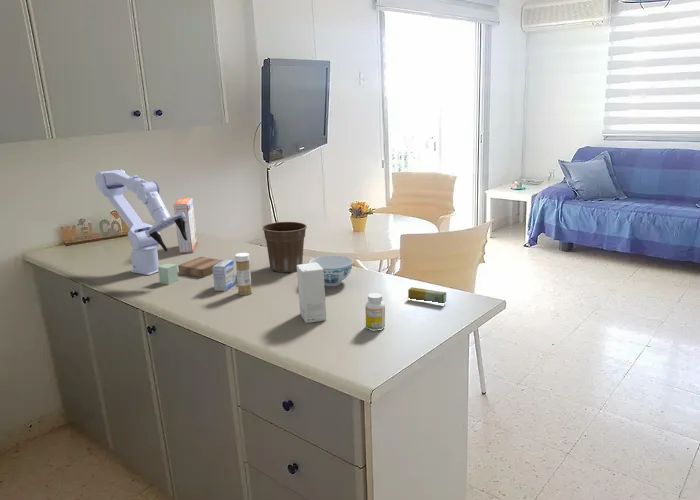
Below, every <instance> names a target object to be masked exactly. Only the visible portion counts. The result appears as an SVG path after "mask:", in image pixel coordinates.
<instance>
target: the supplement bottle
mask: <svg viewBox="0 0 700 500" xmlns="http://www.w3.org/2000/svg"><path fill="white" fill-rule="evenodd" d="M367 300H368V301H367V302H366V303H365V328H366V329H367V328H368V329H371V330H378V329H382V328H384V327H385V324H386V321H385V320H386V316H385V315H386V304H385V302H384V301H383V300H384V299H383V295H382V294H381V293H378V292H371V293H369V294H368V295H367ZM368 329H367V330H368ZM384 329H385V328H384Z"/></svg>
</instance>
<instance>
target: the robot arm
mask: <svg viewBox="0 0 700 500" xmlns="http://www.w3.org/2000/svg"><path fill="white" fill-rule="evenodd" d="M95 183H96V187H97V188H98V190H99V191H100V192H101V194H102V196H103V197H106V198H107V200H108V202H109V203H110V204H111V206H112V207H113V208H114V209H115V211H116V212H117V214H118V215H119V216H120V218H121V219H122V221H123V222H124V223H125V225H126V226H127V227H128V229H129V230H128V233H127V239H128V241H129V244H130V246H131V247H132V248H133V249H132V250H131V253H130V258H131V259H130V260H131V268H132V270H131V271H130V272H131V273H135V274H140V275H145V276H150V275H153V274H155V273H159V271H158V267H159V266H160V263H159V262H160V261H159V256H158V255H159V254H158V248H159V247H160V246H161V248H162V249H163V250H164V251H165V252H167V251H168V248H167V246H166V244H165V243H164V241H163V239H162V235H161V233H160V232H161V231H163V230H164V229H165V230H166V229H167V228H168V227H171V226H172V225H174V224H175V225H176V224H177V226H178V228H179V229H180V231H181V234H182V236H183V238H184V239H185V240H188V239H187V236H186V232H185V221H184V220H183V219H185V218H186V217H185V215H184V213H183V212H181V213H179V214H177V215H175V214H174V215H172V216H171V214H170V212H169V210H168V209H167V207H166V205H165V203H164V201H163V200H162V197H161V195H160V193H161V191H160V186H159V184H158V183H157V182H156V181H155V180H151V181H147V180H145V179H142V178H141V177H139V175H137V174H136V175H132V176H131V175H129V174H127V173H126V172H125V170H124V169H122V168H118V169H113V170H107V171H97V172H96V174H95ZM127 190H128V191H129V192H131V193H133V194H135V195H136V197H137V199H139V201H141V202H142V204H143V205H145V207H146V208H147V211H148V212H149V214H150V216H151V218H152V220H153V222H154V223H155V225H152V224H149V223H146V222H143V221H142V218H140V217H139V214H137V212H136V211H135V210H134V208H133V206H131V204H130V203H129V202H128V200H127V199H126V198H125V197H124V195H125V194H126V193H127ZM159 245H160V246H159Z"/></svg>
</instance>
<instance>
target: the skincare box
mask: <svg viewBox="0 0 700 500" xmlns="http://www.w3.org/2000/svg"><path fill="white" fill-rule="evenodd" d="M296 276H297V289H298V300H299V313H300V316H301V318H302V319H303V321H304V322H305V324H310V323H317V322H323V321H327V307H326V306H327V305H326V291H325V289H326V288H325V285H324V270H323V268H322V267H321V266H320V265H319V264H318V263H317V262H316V263H309V262H308V263H302V264H300V265H297V270H296Z"/></svg>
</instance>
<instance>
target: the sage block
mask: <svg viewBox="0 0 700 500" xmlns="http://www.w3.org/2000/svg"><path fill="white" fill-rule="evenodd" d="M177 268H178V265H177V264H174V263H164V264H161V265H159V267H158V271H159V272H158V279H159V284H162V285H163V284H164V285H172V284H174V283H177V282H178V281H179V275H178V269H177Z"/></svg>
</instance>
